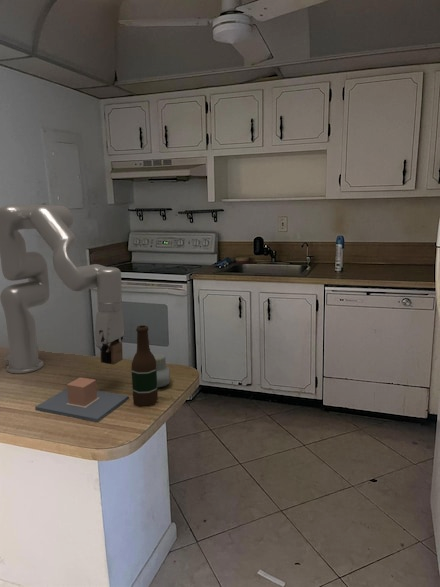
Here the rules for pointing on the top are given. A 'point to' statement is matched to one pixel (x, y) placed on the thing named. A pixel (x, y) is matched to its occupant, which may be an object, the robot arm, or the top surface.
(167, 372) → the air freshener
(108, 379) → the top surface
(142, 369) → the beer bottle
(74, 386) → the terracotta block
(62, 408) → the board
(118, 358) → the walnut block
